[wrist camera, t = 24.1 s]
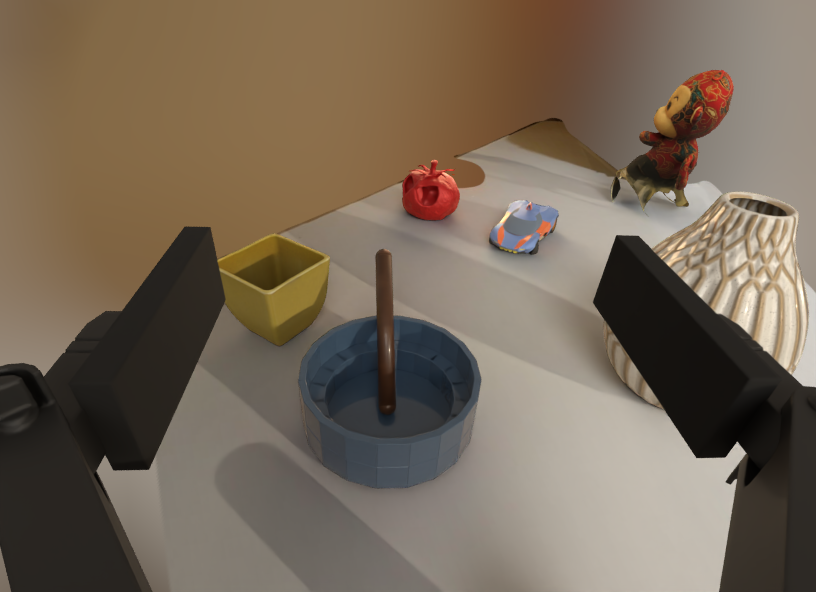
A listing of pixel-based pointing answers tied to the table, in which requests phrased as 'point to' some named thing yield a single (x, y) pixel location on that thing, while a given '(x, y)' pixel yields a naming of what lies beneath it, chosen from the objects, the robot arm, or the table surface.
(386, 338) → the stick
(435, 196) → the pomegranate
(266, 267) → the flower pot
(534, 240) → the toy car
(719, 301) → the vase
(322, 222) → the table surface
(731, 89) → the stuffed monkey
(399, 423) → the bowl
